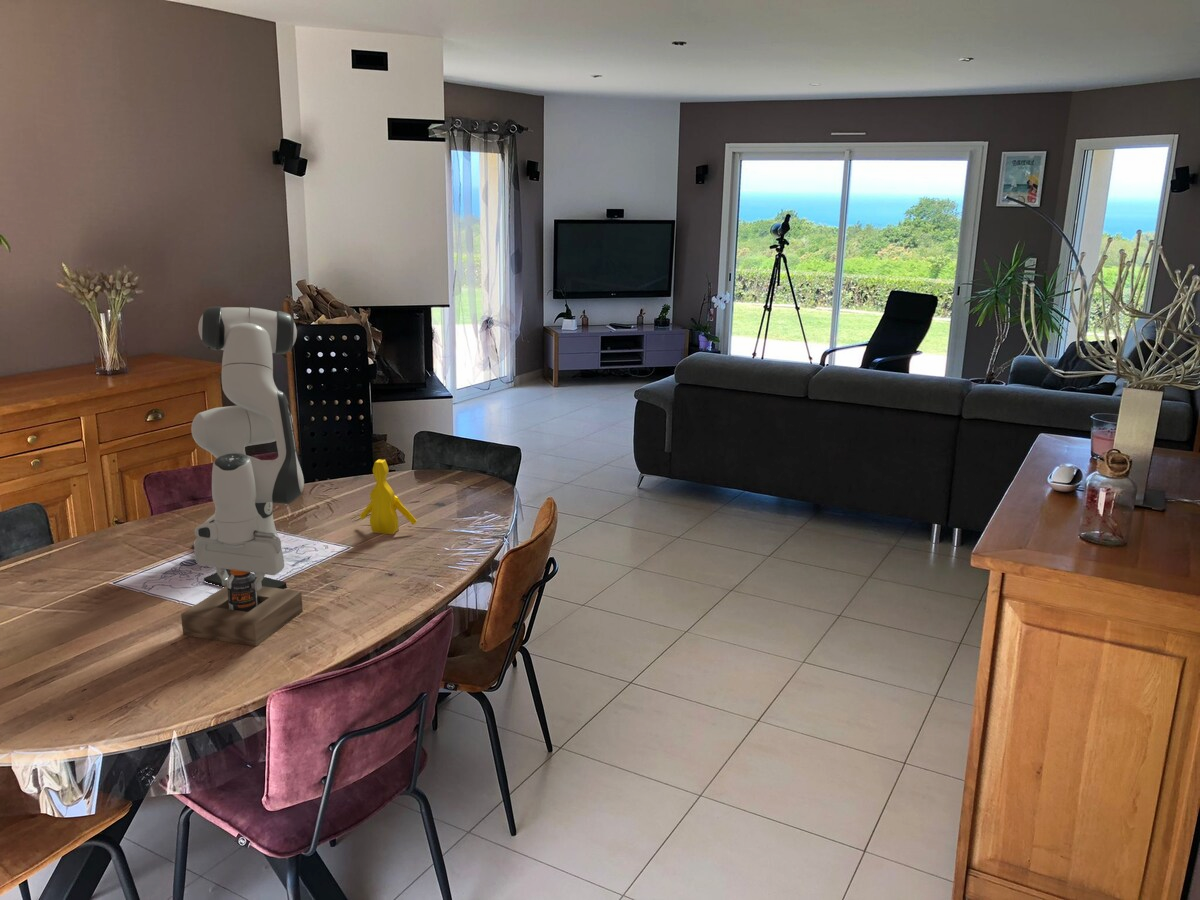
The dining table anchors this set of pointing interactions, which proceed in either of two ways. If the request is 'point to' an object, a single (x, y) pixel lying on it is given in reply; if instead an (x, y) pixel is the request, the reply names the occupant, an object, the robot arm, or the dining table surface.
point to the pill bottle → (241, 591)
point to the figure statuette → (384, 503)
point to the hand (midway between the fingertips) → (241, 587)
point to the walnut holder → (242, 616)
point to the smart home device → (265, 582)
